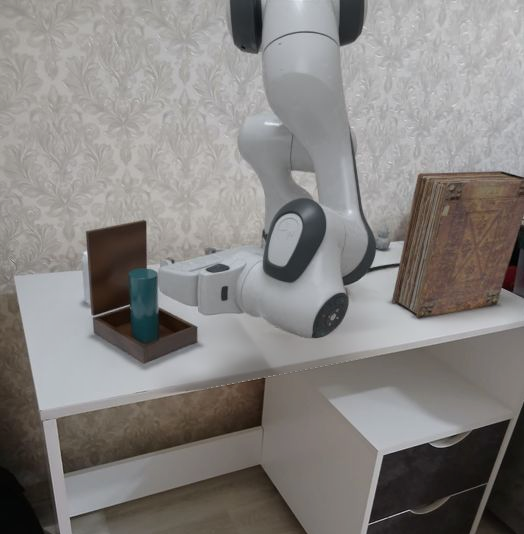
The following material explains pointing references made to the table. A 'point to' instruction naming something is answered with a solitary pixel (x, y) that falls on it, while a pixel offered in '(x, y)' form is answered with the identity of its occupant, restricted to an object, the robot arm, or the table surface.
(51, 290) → the table surface
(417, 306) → the book
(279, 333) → the table surface
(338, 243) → the robot arm
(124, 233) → the lid
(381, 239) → the grey figurine
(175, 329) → the chest
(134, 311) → the canister
